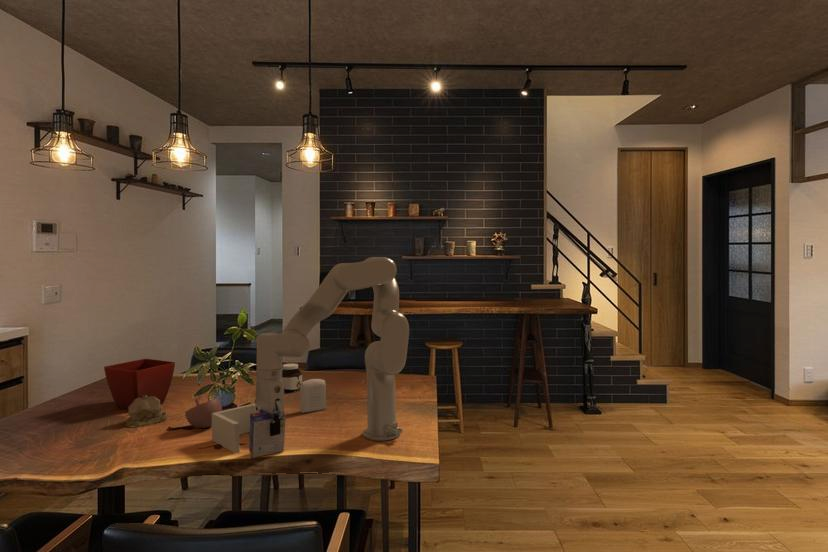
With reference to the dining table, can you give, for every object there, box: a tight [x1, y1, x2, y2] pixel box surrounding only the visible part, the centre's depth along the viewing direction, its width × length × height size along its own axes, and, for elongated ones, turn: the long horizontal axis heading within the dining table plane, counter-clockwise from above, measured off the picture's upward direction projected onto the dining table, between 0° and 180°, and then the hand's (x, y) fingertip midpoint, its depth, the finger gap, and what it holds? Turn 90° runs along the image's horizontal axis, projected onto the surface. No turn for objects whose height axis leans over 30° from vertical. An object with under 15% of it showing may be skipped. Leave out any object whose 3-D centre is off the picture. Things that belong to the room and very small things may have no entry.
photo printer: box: [299, 378, 327, 414], centre depth 196 cm, size 10×4×12 cm, turn 123°
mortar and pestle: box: [184, 394, 223, 429], centre depth 177 cm, size 12×12×11 cm
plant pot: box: [103, 358, 176, 409], centre depth 205 cm, size 19×19×17 cm
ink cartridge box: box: [248, 407, 287, 459], centre depth 152 cm, size 10×6×14 cm, turn 122°
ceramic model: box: [124, 395, 168, 427], centre depth 184 cm, size 14×11×10 cm
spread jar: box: [282, 363, 303, 393], centre depth 228 cm, size 12×11×12 cm
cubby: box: [211, 403, 257, 454], centre depth 164 cm, size 16×16×9 cm
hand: (268, 431), depth 152 cm, fingers closed on ink cartridge box, 7 cm apart
